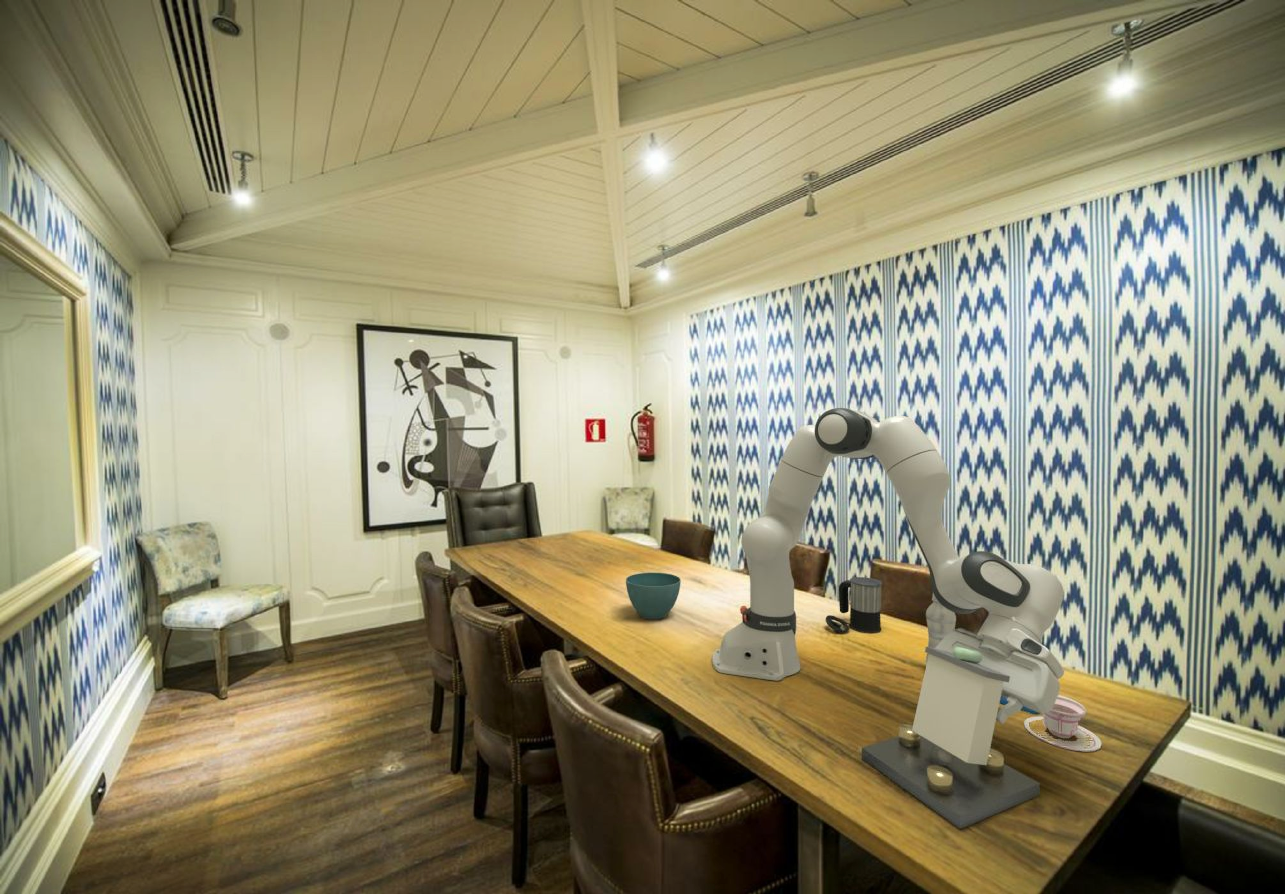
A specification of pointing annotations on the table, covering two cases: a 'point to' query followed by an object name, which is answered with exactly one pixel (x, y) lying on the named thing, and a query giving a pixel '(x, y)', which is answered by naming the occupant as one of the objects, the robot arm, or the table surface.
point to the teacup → (1066, 726)
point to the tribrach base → (965, 781)
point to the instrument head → (959, 704)
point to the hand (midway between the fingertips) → (969, 706)
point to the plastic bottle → (938, 623)
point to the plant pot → (653, 593)
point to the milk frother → (859, 605)
